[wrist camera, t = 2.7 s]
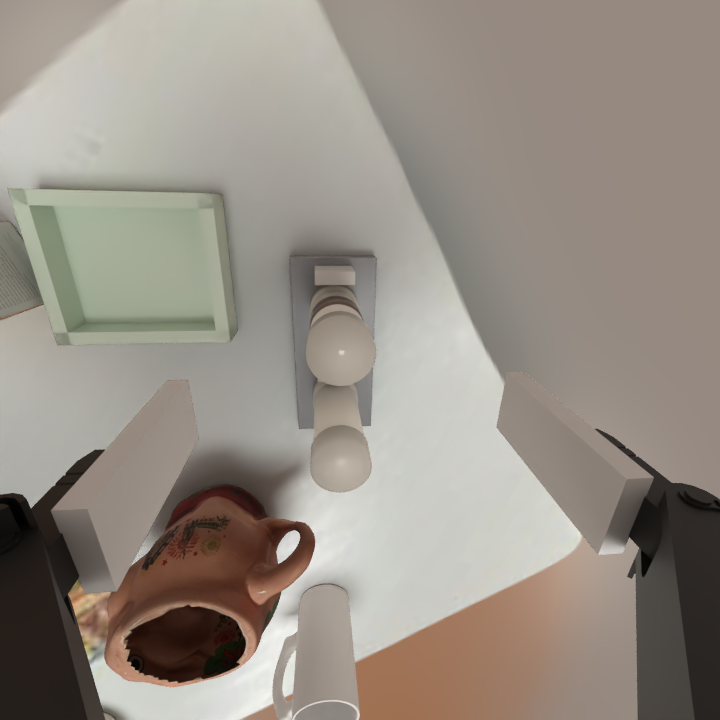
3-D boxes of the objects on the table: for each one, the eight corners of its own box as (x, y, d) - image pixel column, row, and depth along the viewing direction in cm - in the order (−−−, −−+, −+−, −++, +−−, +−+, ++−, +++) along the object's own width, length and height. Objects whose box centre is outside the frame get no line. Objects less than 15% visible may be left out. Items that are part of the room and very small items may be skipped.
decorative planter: (274, 424, 36) (250, 542, 23) (341, 499, 41) (351, 632, 28) (123, 518, 39) (26, 671, 26) (202, 579, 43) (152, 734, 30)
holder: (299, 420, 36) (290, 518, 25) (290, 255, 30) (273, 283, 19) (368, 417, 37) (391, 511, 25) (373, 256, 31) (406, 283, 19)
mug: (335, 574, 45) (340, 692, 34) (359, 603, 48) (371, 721, 37) (265, 606, 46) (248, 730, 35) (293, 633, 49) (285, 756, 38)
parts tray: (80, 333, 31) (57, 345, 28) (39, 190, 27) (7, 188, 24) (237, 330, 32) (230, 342, 29) (222, 194, 28) (211, 193, 25)
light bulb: (311, 329, 31) (307, 387, 21) (309, 283, 30) (304, 320, 20) (357, 328, 32) (374, 385, 22) (357, 282, 30) (377, 320, 20)
